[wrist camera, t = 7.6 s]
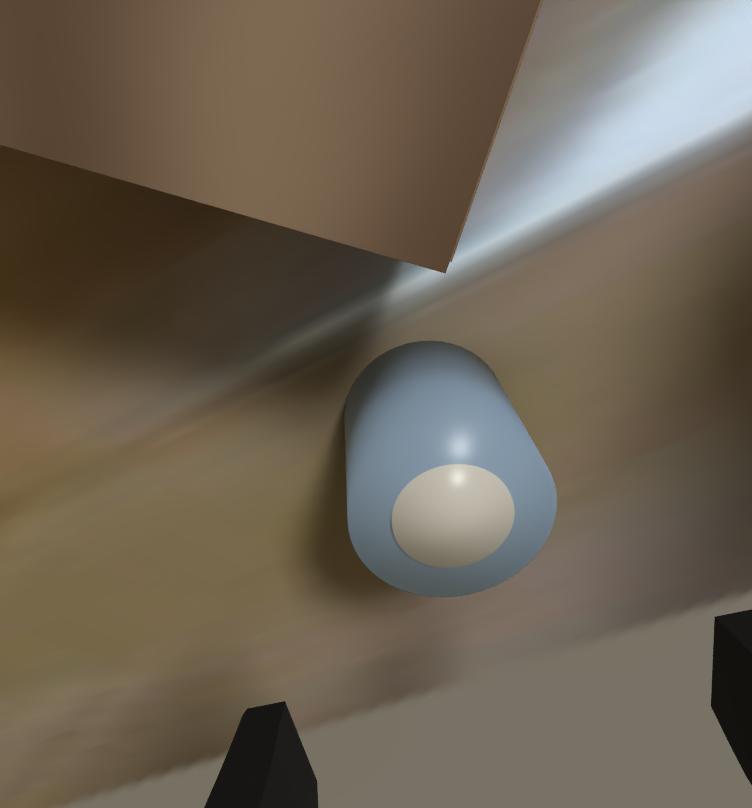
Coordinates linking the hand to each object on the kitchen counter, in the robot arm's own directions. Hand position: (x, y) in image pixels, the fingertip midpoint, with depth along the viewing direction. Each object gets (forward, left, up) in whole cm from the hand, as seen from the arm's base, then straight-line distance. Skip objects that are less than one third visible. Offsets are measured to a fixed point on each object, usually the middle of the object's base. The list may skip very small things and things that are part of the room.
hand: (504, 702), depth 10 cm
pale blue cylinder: (0, 0, -10) cm, 10 cm away
